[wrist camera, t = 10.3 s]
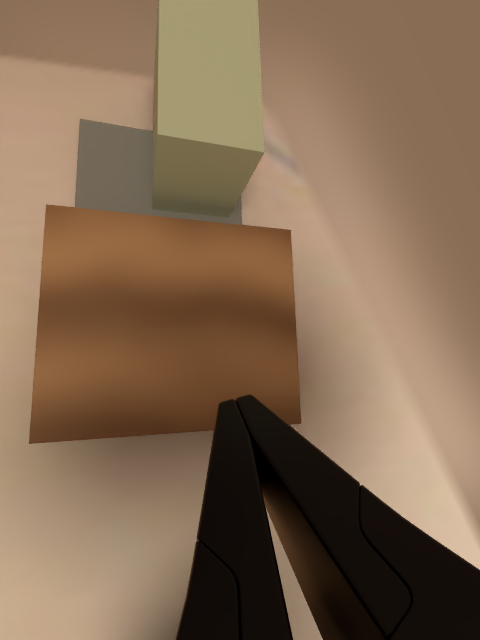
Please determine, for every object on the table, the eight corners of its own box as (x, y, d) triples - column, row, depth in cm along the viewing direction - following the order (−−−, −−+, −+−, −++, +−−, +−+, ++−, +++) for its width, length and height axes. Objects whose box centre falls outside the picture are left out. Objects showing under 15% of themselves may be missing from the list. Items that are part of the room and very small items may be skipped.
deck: (283, 418, 22) (301, 423, 20) (43, 435, 18) (29, 443, 16) (275, 244, 24) (290, 230, 22) (57, 225, 20) (46, 204, 18)
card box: (264, 152, 16) (257, -4, 18) (157, 134, 15) (159, -34, 16) (228, 217, 23) (225, 100, 24) (152, 209, 21) (153, 85, 23)
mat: (240, 239, 23) (242, 236, 23) (75, 223, 20) (74, 220, 20) (237, 150, 24) (239, 146, 24) (80, 123, 21) (79, 118, 21)
